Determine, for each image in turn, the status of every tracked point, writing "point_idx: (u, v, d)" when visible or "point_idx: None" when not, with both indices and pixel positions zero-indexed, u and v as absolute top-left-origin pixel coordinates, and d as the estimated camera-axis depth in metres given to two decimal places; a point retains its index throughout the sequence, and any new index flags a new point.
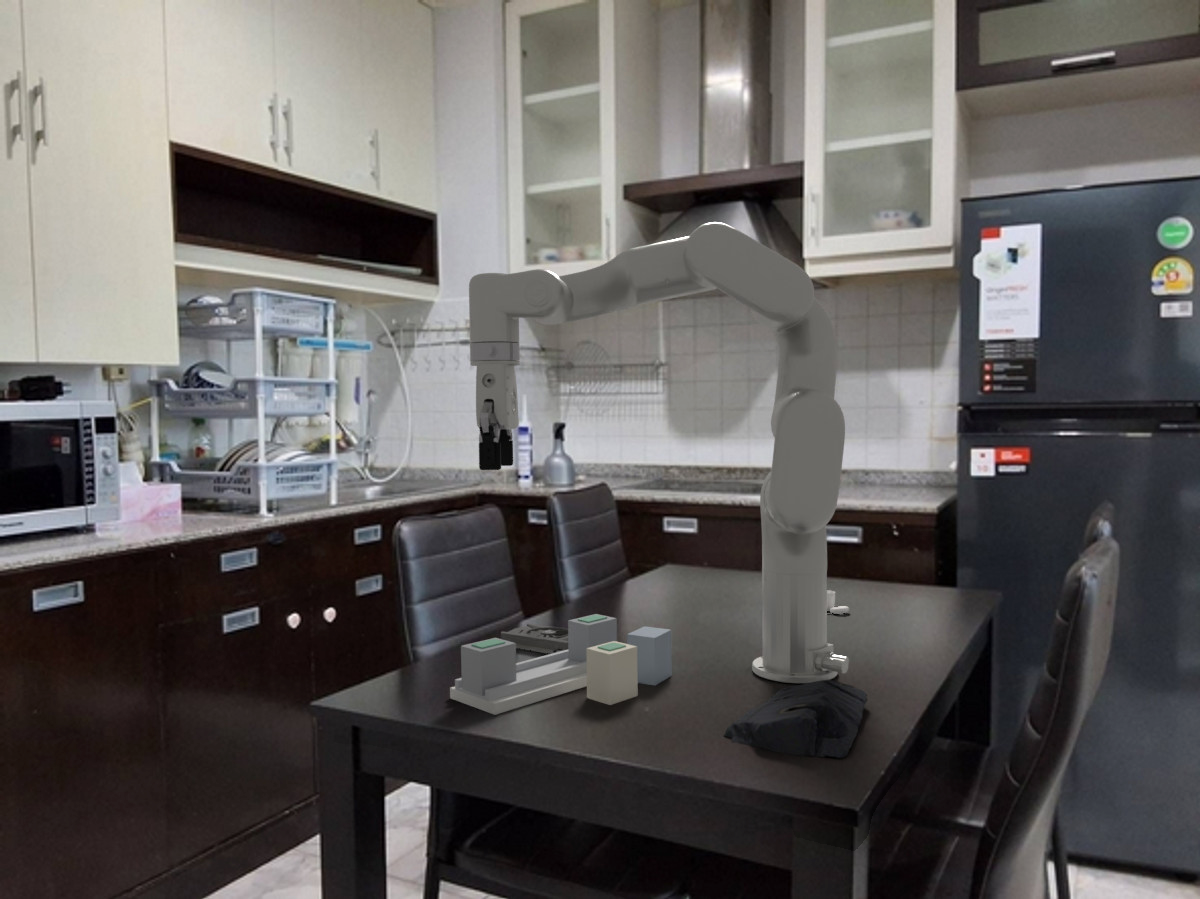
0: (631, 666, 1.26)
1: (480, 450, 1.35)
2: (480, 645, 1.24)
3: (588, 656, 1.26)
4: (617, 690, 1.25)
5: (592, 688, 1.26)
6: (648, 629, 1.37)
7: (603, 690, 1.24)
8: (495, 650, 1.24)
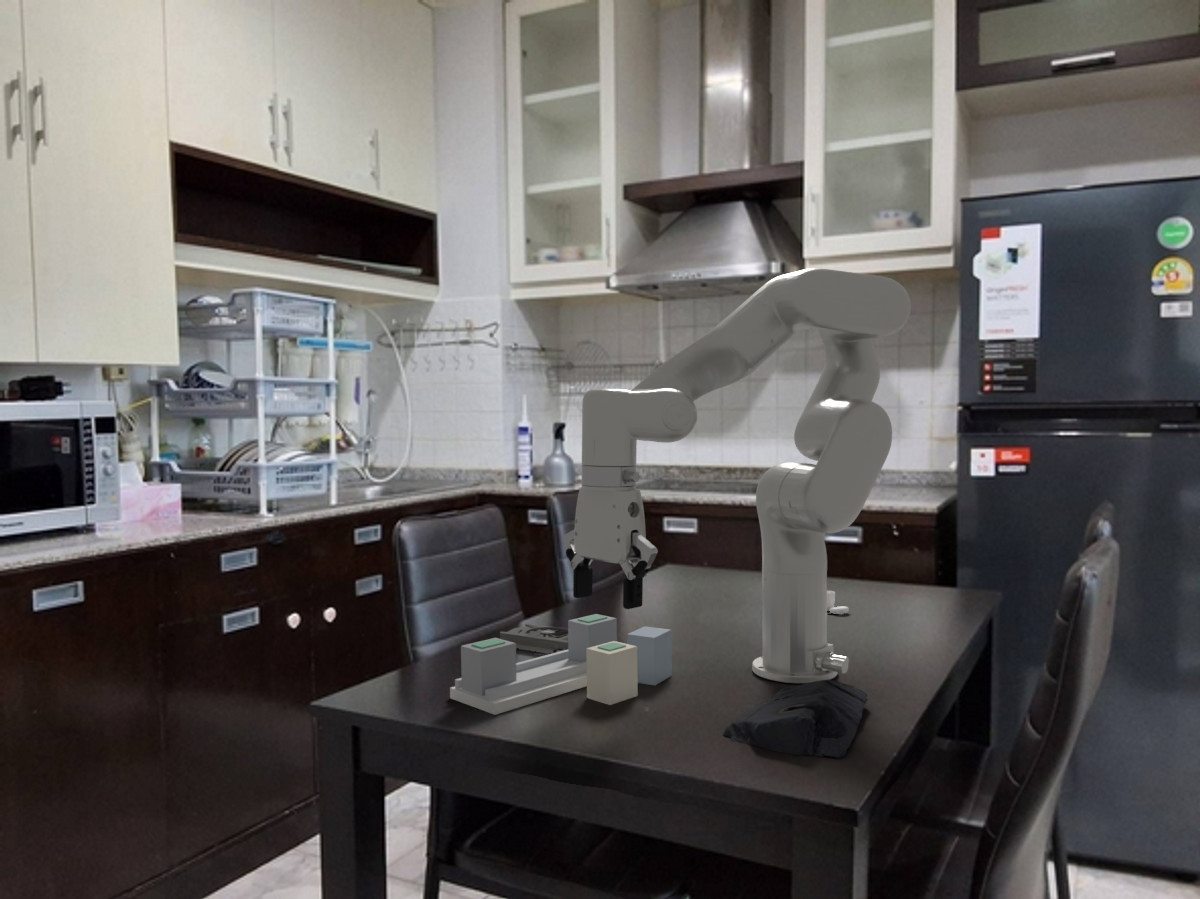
0: (631, 665, 1.26)
1: (627, 587, 1.22)
2: (480, 645, 1.24)
3: (588, 656, 1.26)
4: (617, 690, 1.25)
5: (592, 688, 1.26)
6: (648, 629, 1.37)
7: (603, 689, 1.24)
8: (495, 650, 1.24)
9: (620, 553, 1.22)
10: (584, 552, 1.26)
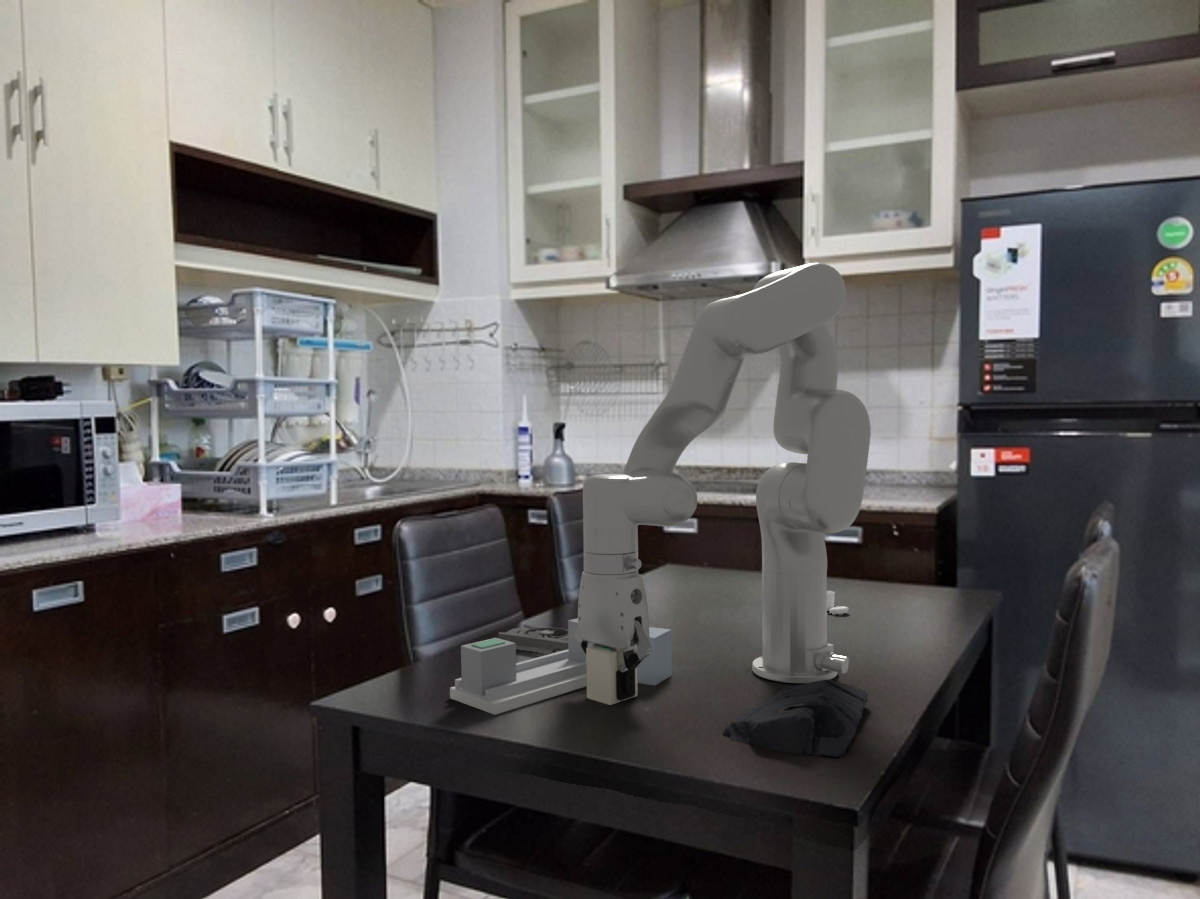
0: None
1: (620, 679, 1.24)
2: (480, 645, 1.24)
3: (588, 656, 1.26)
4: None
5: (592, 688, 1.26)
6: None
7: (603, 689, 1.24)
8: (495, 650, 1.24)
9: (624, 640, 1.22)
10: (588, 637, 1.27)
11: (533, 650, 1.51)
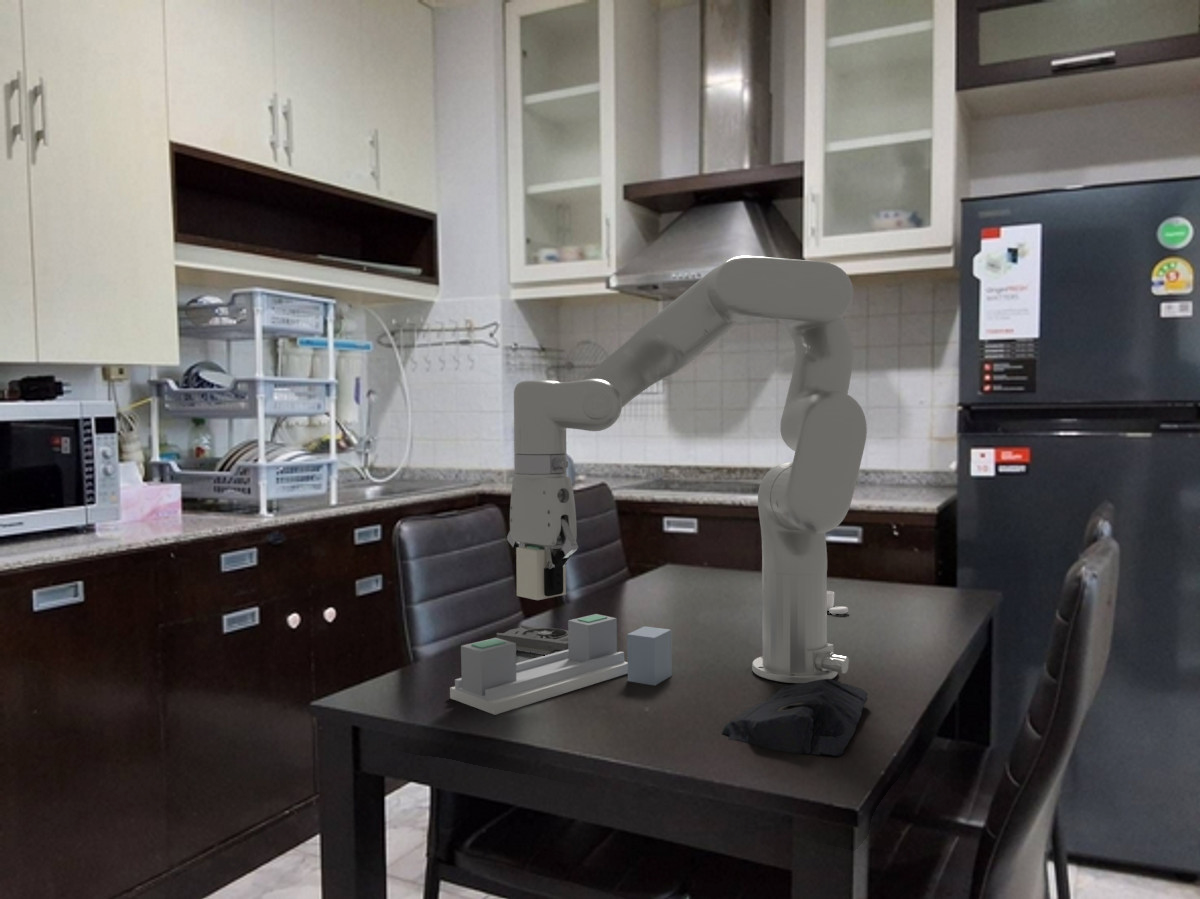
0: None
1: (547, 576, 1.29)
2: (480, 645, 1.24)
3: (518, 555, 1.31)
4: None
5: (521, 585, 1.31)
6: (648, 629, 1.37)
7: (531, 586, 1.29)
8: (495, 650, 1.24)
9: (550, 537, 1.27)
10: (519, 537, 1.32)
11: (531, 651, 1.51)
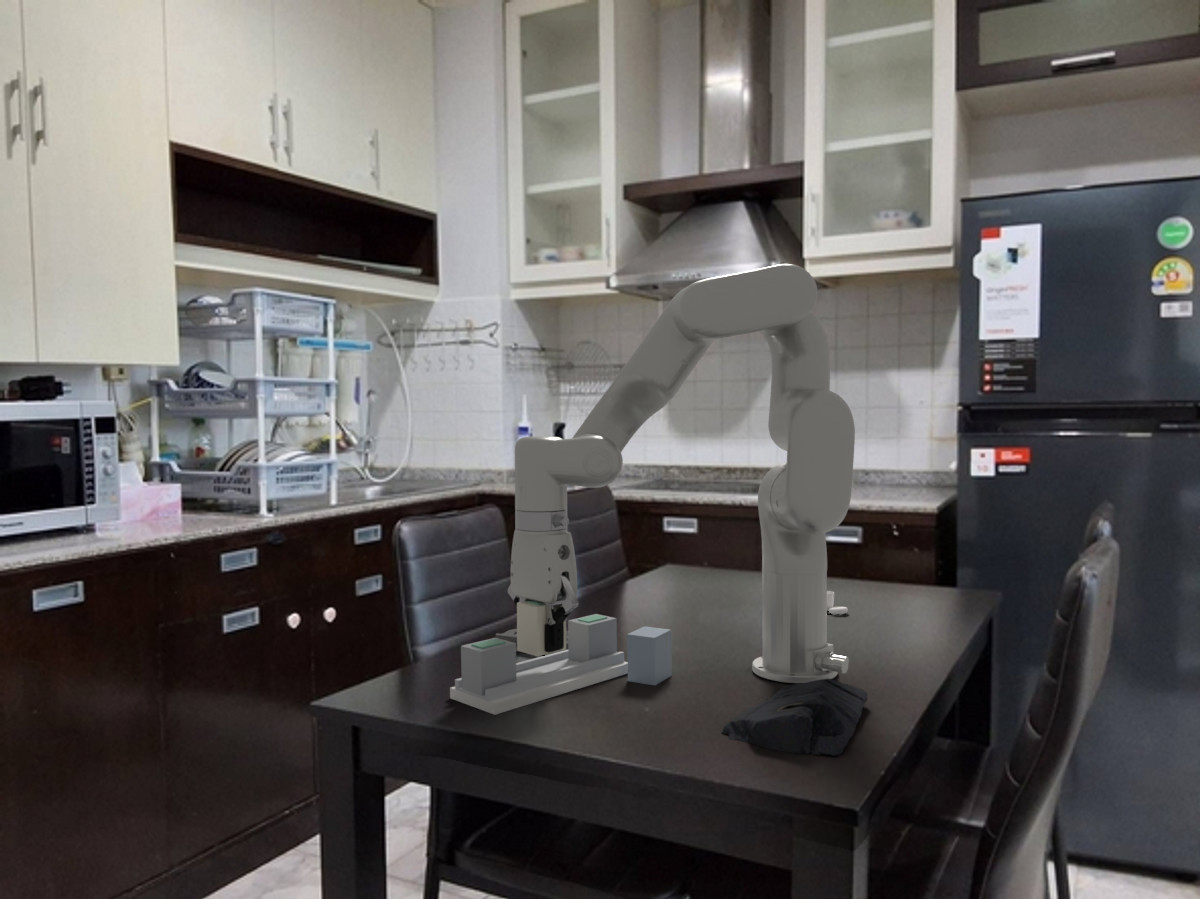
0: None
1: (548, 632, 1.29)
2: (480, 645, 1.24)
3: (518, 610, 1.32)
4: None
5: (521, 640, 1.31)
6: (648, 629, 1.37)
7: (531, 642, 1.30)
8: (495, 650, 1.24)
9: (551, 594, 1.28)
10: (519, 592, 1.33)
11: None
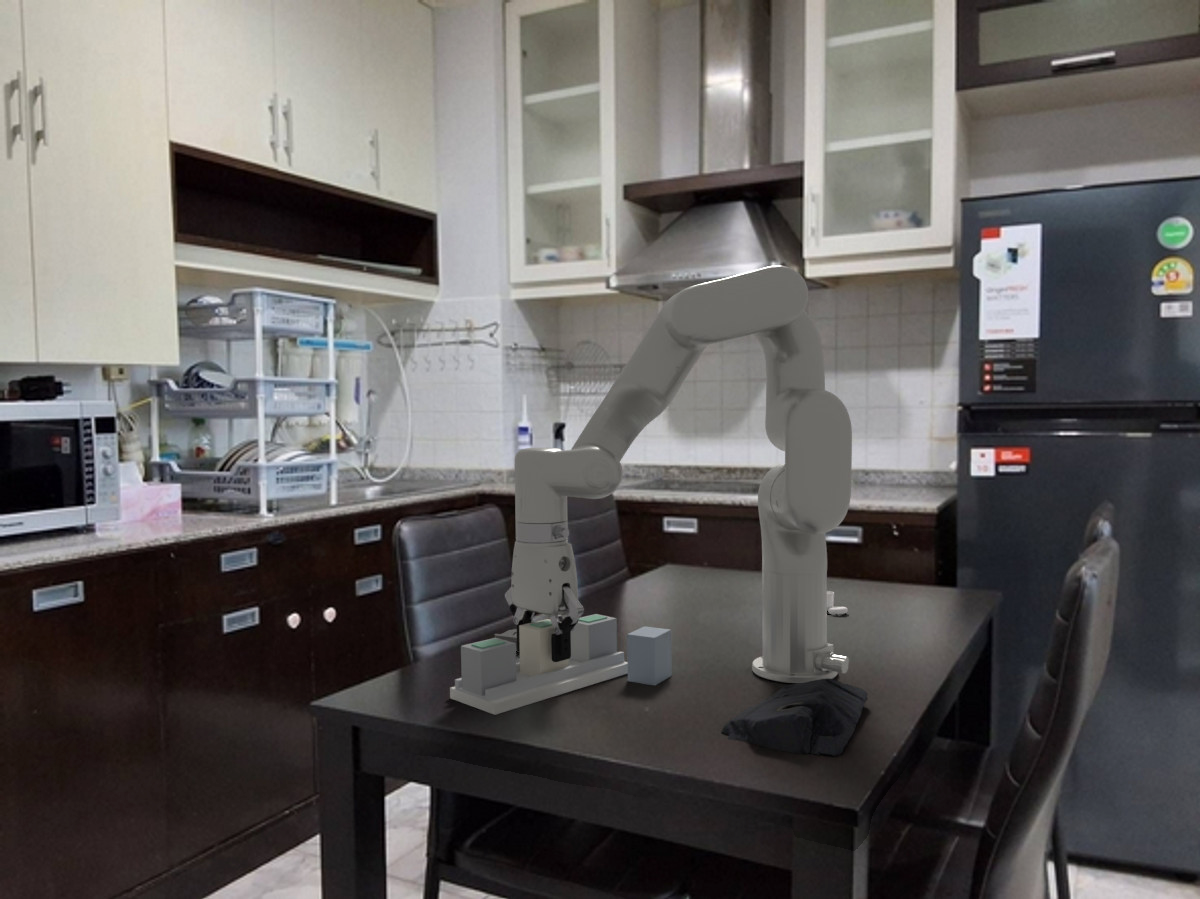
0: None
1: (555, 642, 1.29)
2: (480, 645, 1.24)
3: (521, 633, 1.32)
4: (548, 665, 1.30)
5: (524, 663, 1.31)
6: (648, 629, 1.37)
7: (534, 665, 1.30)
8: (495, 650, 1.24)
9: (552, 606, 1.28)
10: (520, 603, 1.33)
11: None
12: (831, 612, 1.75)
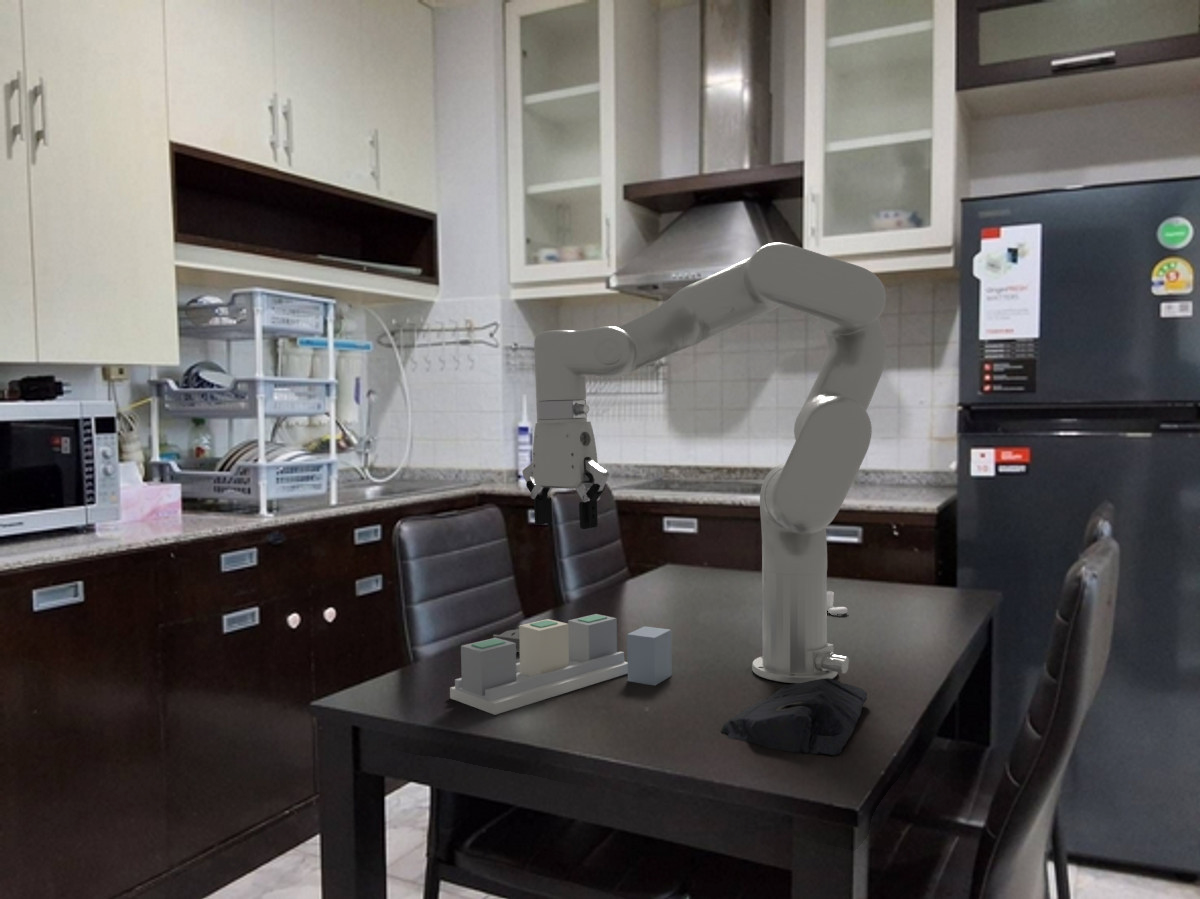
0: (562, 642, 1.32)
1: (583, 509, 1.34)
2: (480, 645, 1.24)
3: (521, 633, 1.32)
4: (548, 665, 1.30)
5: (524, 663, 1.31)
6: (648, 629, 1.37)
7: (534, 665, 1.30)
8: (495, 650, 1.24)
9: (575, 478, 1.34)
10: (542, 481, 1.38)
11: None
12: (831, 612, 1.75)
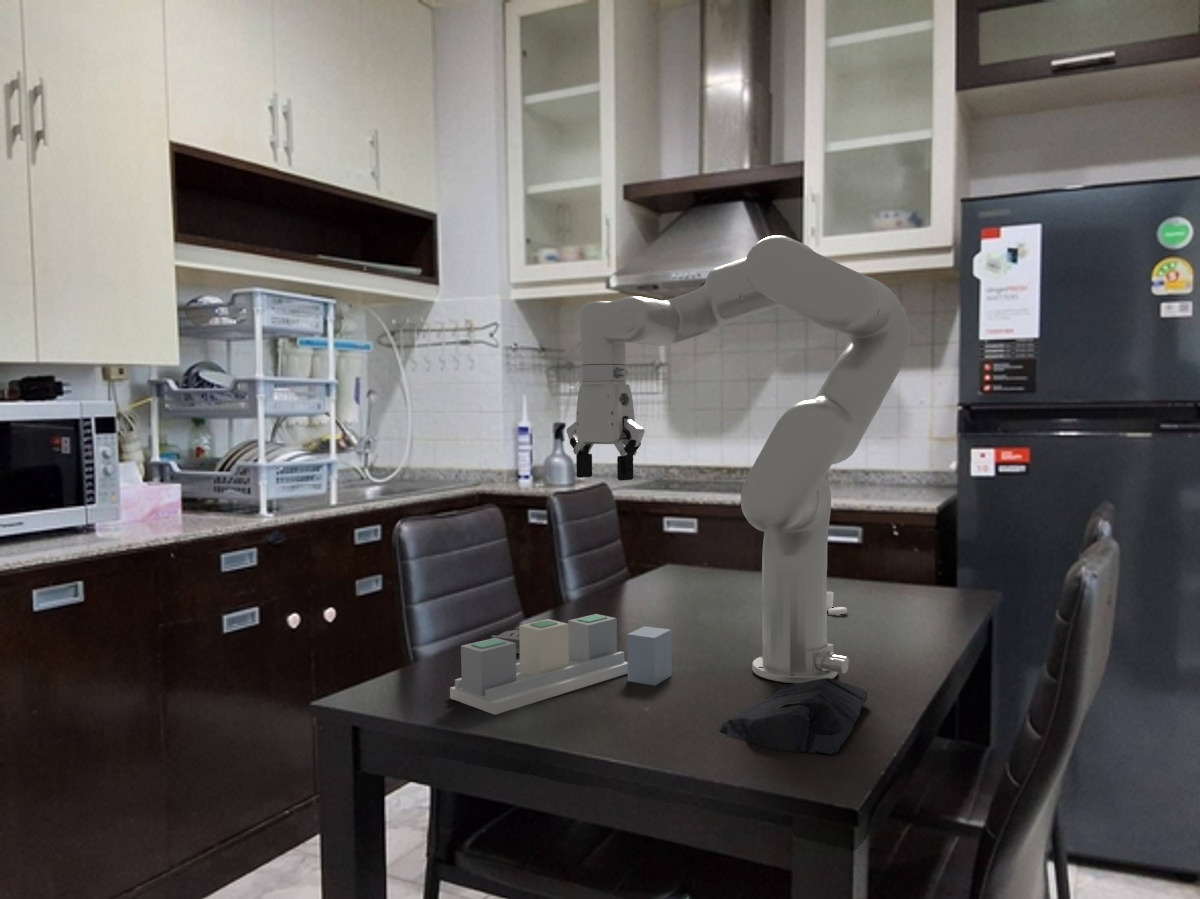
0: (562, 642, 1.32)
1: (620, 462, 1.49)
2: (480, 645, 1.24)
3: (521, 633, 1.32)
4: (548, 665, 1.30)
5: (524, 663, 1.31)
6: (648, 629, 1.37)
7: (534, 665, 1.30)
8: (495, 650, 1.24)
9: (614, 434, 1.49)
10: (584, 438, 1.53)
11: None
12: (830, 612, 1.74)
